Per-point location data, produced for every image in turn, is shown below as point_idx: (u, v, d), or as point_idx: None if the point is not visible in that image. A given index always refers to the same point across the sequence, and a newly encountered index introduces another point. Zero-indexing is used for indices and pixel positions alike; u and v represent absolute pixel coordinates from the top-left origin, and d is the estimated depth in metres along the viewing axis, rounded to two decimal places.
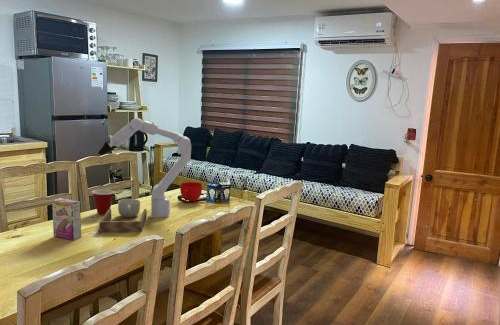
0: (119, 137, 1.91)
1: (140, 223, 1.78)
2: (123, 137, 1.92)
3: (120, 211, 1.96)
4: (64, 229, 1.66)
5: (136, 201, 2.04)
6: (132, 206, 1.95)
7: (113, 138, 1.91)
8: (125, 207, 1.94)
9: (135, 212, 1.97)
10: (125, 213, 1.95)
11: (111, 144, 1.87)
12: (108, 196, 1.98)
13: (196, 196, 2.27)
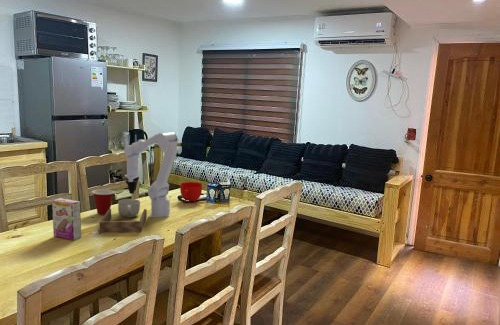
0: (131, 170, 2.06)
1: (140, 223, 1.78)
2: (130, 167, 2.06)
3: (120, 211, 1.96)
4: (64, 229, 1.66)
5: (136, 201, 2.04)
6: (132, 206, 1.95)
7: (128, 174, 2.07)
8: (125, 207, 1.94)
9: (135, 212, 1.97)
10: (125, 213, 1.95)
11: (130, 179, 2.02)
12: (108, 196, 1.98)
13: (196, 196, 2.27)
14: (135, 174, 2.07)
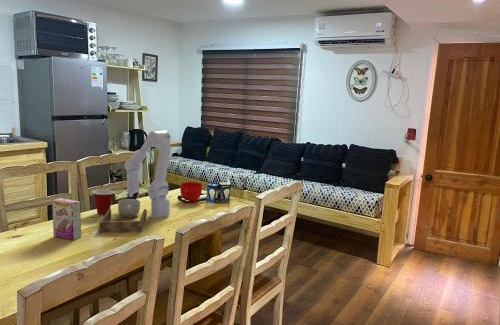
0: (131, 185, 2.07)
1: (140, 223, 1.78)
2: (130, 182, 2.07)
3: (120, 211, 1.96)
4: (64, 229, 1.66)
5: (136, 201, 2.04)
6: (132, 206, 1.95)
7: (128, 189, 2.08)
8: (125, 207, 1.94)
9: (135, 212, 1.97)
10: (125, 213, 1.95)
11: (130, 194, 2.04)
12: (108, 196, 1.98)
13: (196, 196, 2.27)
14: (135, 189, 2.09)
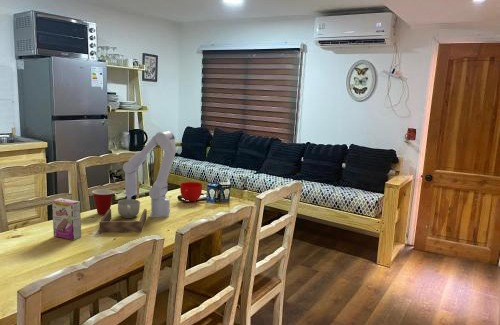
0: (129, 187, 2.02)
1: (140, 223, 1.78)
2: (130, 184, 2.02)
3: (120, 211, 1.95)
4: (64, 229, 1.66)
5: (135, 201, 2.03)
6: (132, 206, 1.94)
7: (127, 192, 2.03)
8: (125, 207, 1.94)
9: (135, 212, 1.96)
10: (125, 213, 1.94)
11: (129, 197, 1.98)
12: (108, 196, 1.98)
13: (196, 196, 2.27)
14: (134, 191, 2.03)
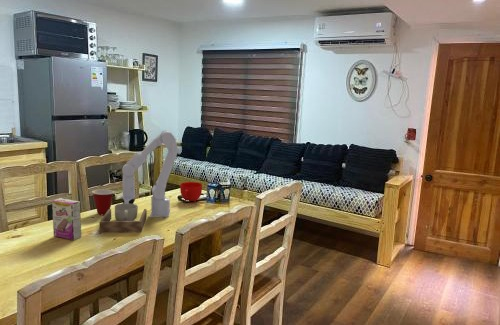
0: (127, 191, 1.95)
1: (140, 223, 1.78)
2: (130, 188, 1.95)
3: (117, 216, 1.87)
4: (64, 229, 1.66)
5: (133, 205, 1.95)
6: (129, 211, 1.87)
7: (124, 196, 1.95)
8: (122, 212, 1.86)
9: (132, 217, 1.89)
10: (122, 218, 1.87)
11: (126, 201, 1.91)
12: (108, 196, 1.98)
13: (196, 196, 2.27)
14: (131, 195, 1.96)
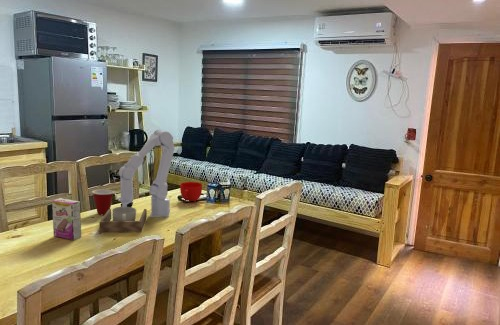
0: (125, 194, 1.89)
1: (140, 223, 1.78)
2: (130, 190, 1.90)
3: (114, 220, 1.82)
4: (64, 229, 1.66)
5: (131, 209, 1.90)
6: (127, 215, 1.81)
7: (122, 199, 1.90)
8: (120, 216, 1.81)
9: None
10: None
11: (124, 205, 1.85)
12: (108, 196, 1.98)
13: (196, 196, 2.27)
14: (129, 198, 1.90)
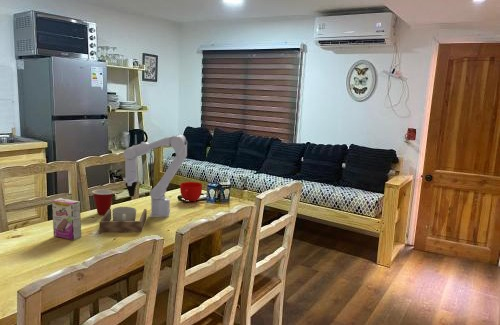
0: (130, 174, 1.97)
1: (140, 223, 1.78)
2: (131, 171, 1.97)
3: (114, 220, 1.82)
4: (64, 229, 1.66)
5: (131, 209, 1.90)
6: (127, 215, 1.81)
7: (127, 178, 1.98)
8: (120, 216, 1.81)
9: None
10: None
11: (129, 183, 1.94)
12: (108, 196, 1.98)
13: (196, 196, 2.27)
14: (134, 178, 1.99)
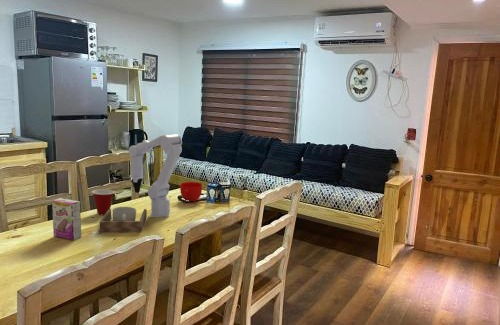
0: (135, 171, 2.05)
1: (140, 223, 1.78)
2: (134, 167, 2.05)
3: (114, 220, 1.82)
4: (64, 229, 1.66)
5: (131, 209, 1.90)
6: (127, 215, 1.81)
7: (133, 175, 2.06)
8: (120, 216, 1.81)
9: None
10: None
11: (135, 180, 2.02)
12: (108, 196, 1.98)
13: (196, 196, 2.27)
14: (140, 174, 2.07)
